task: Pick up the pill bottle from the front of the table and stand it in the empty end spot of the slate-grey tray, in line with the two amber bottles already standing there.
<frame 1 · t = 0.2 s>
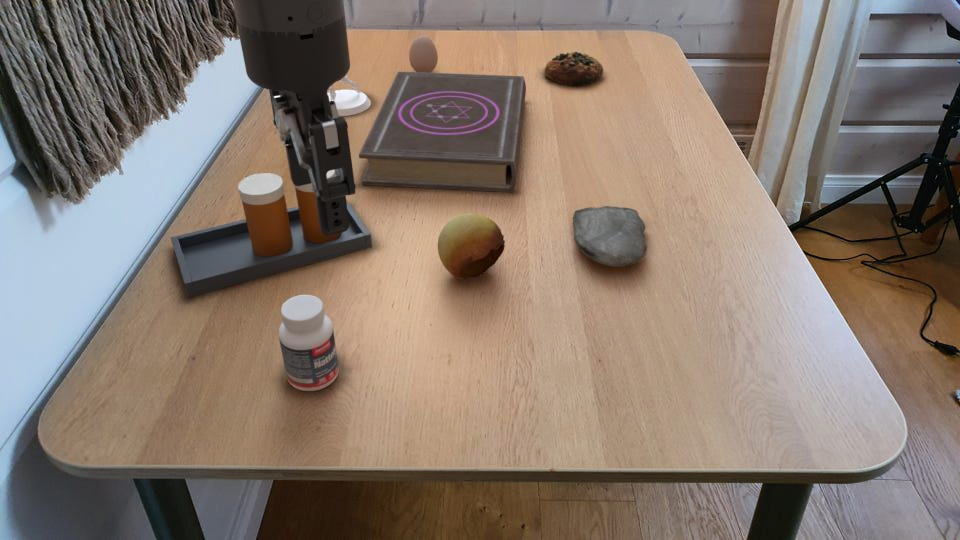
hand: (319, 206, 61), 21 cm above the table, tool pointing down, fingers open, 8 cm apart
figurine: (343, 105, 129), on the table
tray: (273, 248, 93), on the table
fruit: (470, 275, 89), on the table
book: (451, 141, 118), on the table
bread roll: (572, 76, 139), on the table
amber bottle far: (322, 232, 95), resting on tray
stone: (609, 243, 95), on the table
amber bottle middle: (272, 245, 93), resting on tray
pill bottle: (313, 375, 76), on the table
egg: (424, 75, 139), on the table
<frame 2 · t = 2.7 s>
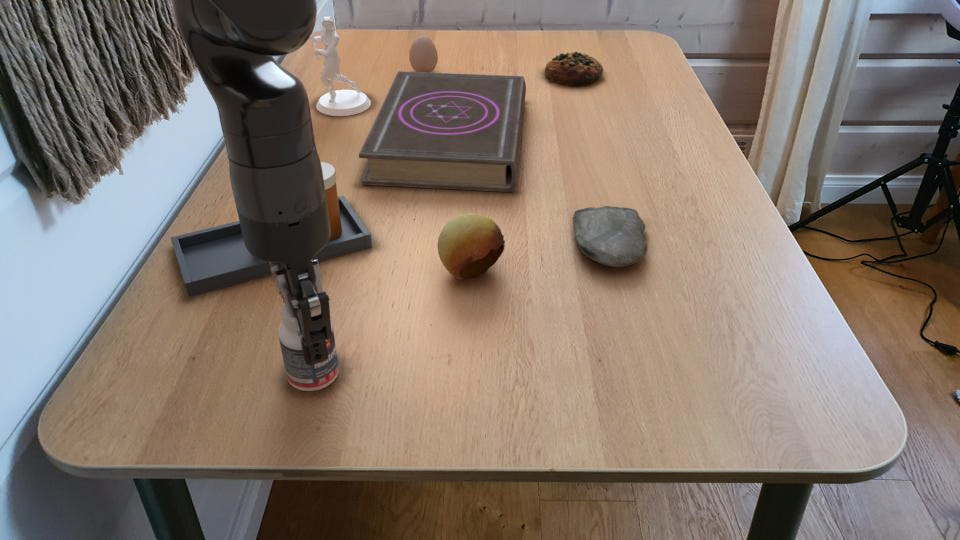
hand: (307, 341, 73), 4 cm above the table, tool pointing down, fingers closed on pill bottle, 5 cm apart
pill bottle: (313, 375, 76), on the table, touching gripper
everything else where it was.
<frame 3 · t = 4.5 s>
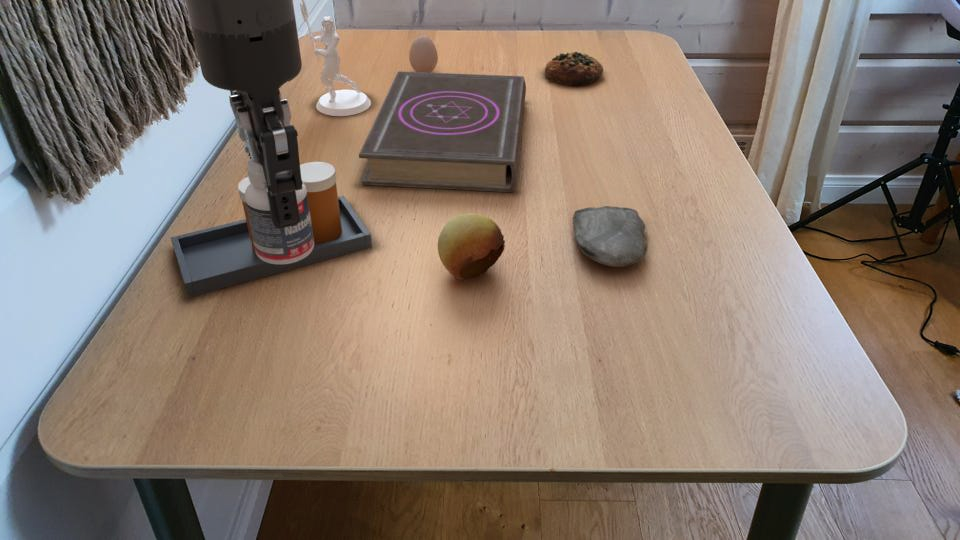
hand: (278, 207, 65), 20 cm above the table, tool pointing down, fingers closed on pill bottle, 5 cm apart
pill bottle: (286, 251, 67), point 15 cm above the table, touching gripper
everything else where it was.
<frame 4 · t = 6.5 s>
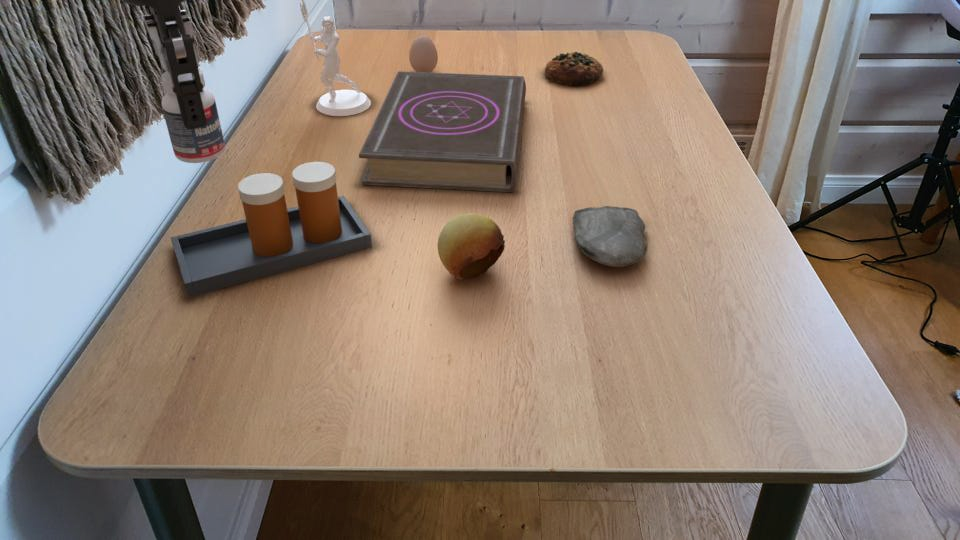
hand: (191, 114, 77), 21 cm above the table, tool pointing down, fingers closed on pill bottle, 5 cm apart
pill bottle: (201, 154, 80), point 16 cm above the table, touching gripper
everything else where it was.
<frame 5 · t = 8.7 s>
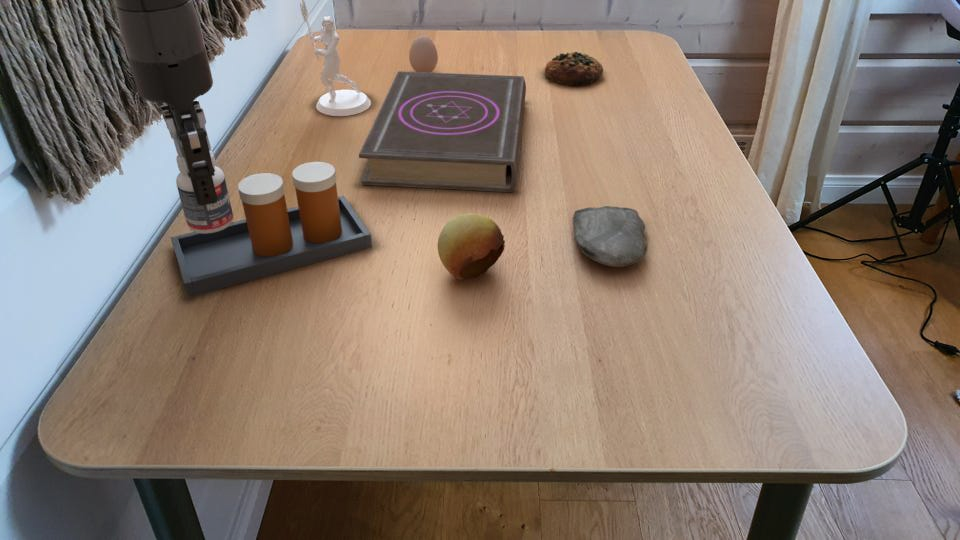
hand: (202, 190, 85), 10 cm above the table, tool pointing down, fingers closed on pill bottle, 5 cm apart
pill bottle: (211, 223, 87), point 6 cm above the table, touching gripper
everything else where it was.
when the fingers open (5 cm above the table, at t = 10.5 s): pill bottle stays where it is, resting on tray.
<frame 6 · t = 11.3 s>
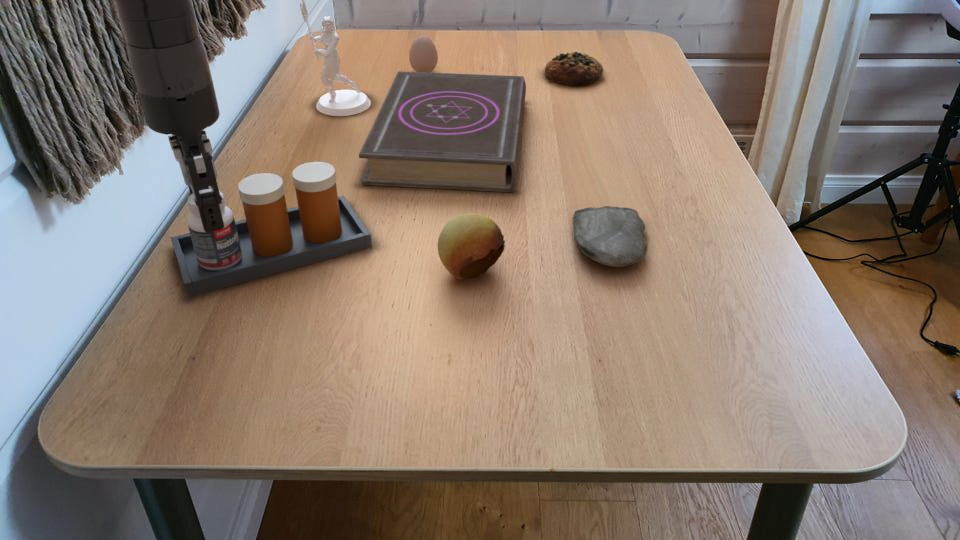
hand: (207, 211, 86), 7 cm above the table, tool pointing down, fingers open, 8 cm apart
pill bottle: (221, 260, 91), resting on tray
everything else where it was.
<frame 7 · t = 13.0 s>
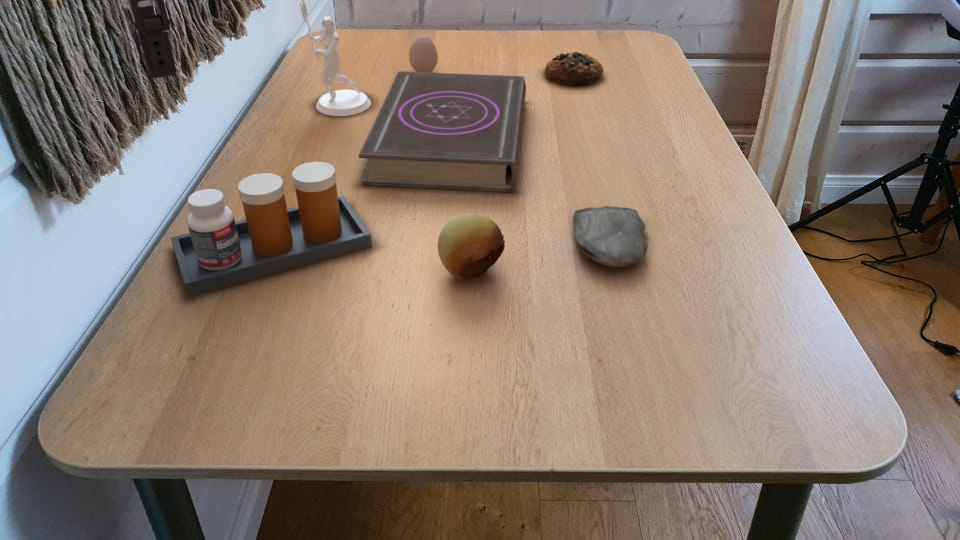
hand: (156, 59, 66), 29 cm above the table, tool pointing down, fingers open, 8 cm apart
nothing on the table moved.
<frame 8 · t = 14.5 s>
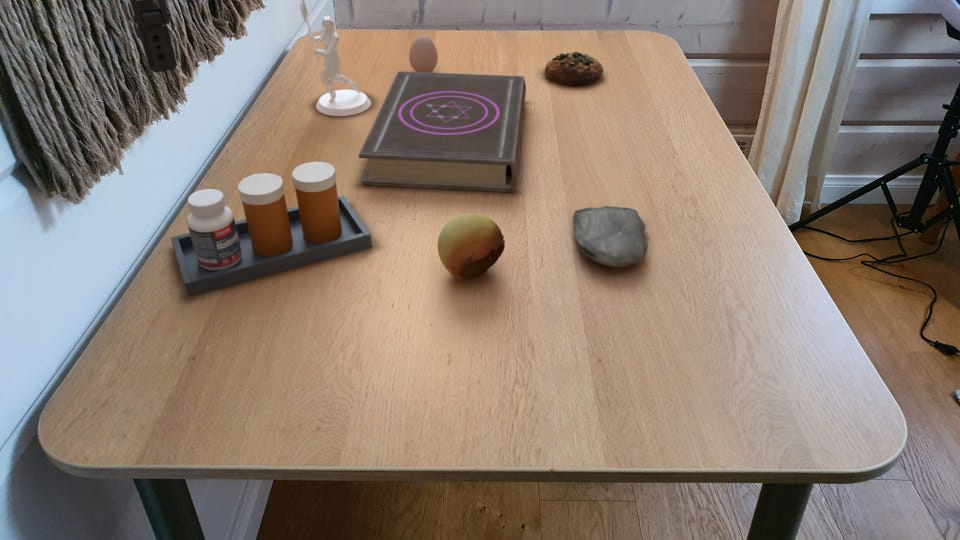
hand: (156, 53, 65), 30 cm above the table, tool pointing down, fingers open, 8 cm apart
nothing on the table moved.
at the end: pill bottle 0.1 cm from the target spot in the tray, point 0.3 cm above the tray's base; pill bottle tilted 0°; the gripper is holding nothing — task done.
